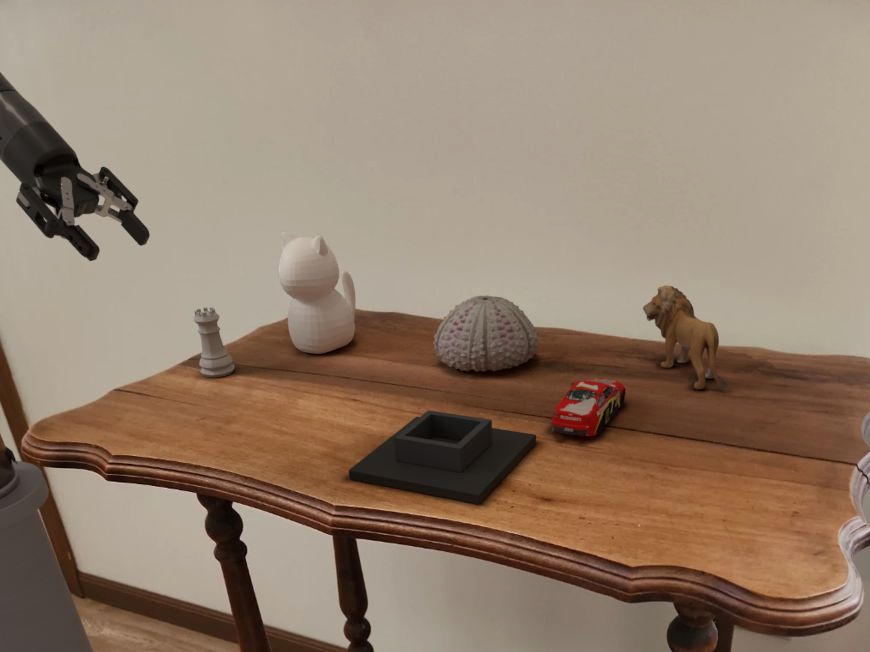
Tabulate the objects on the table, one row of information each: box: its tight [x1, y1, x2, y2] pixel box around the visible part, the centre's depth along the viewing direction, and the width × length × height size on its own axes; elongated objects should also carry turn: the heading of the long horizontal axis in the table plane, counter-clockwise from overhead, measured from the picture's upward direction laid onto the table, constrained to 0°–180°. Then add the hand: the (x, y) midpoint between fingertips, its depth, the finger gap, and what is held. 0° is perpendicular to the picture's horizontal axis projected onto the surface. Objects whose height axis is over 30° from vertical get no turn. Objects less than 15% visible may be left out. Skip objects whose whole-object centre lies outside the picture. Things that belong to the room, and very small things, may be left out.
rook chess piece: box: [192, 306, 236, 379], centre depth 104 cm, size 4×4×8 cm
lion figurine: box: [642, 284, 728, 390], centre depth 95 cm, size 15×5×9 cm, turn 24°
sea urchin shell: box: [432, 295, 540, 373], centre depth 102 cm, size 13×14×8 cm
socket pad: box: [348, 409, 537, 505], centre depth 80 cm, size 14×14×4 cm
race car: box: [551, 377, 627, 438], centre depth 87 cm, size 13×5×4 cm, turn 153°
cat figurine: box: [278, 231, 357, 355], centre depth 109 cm, size 9×12×15 cm
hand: (121, 248), depth 102 cm, fingers open, 8 cm apart
